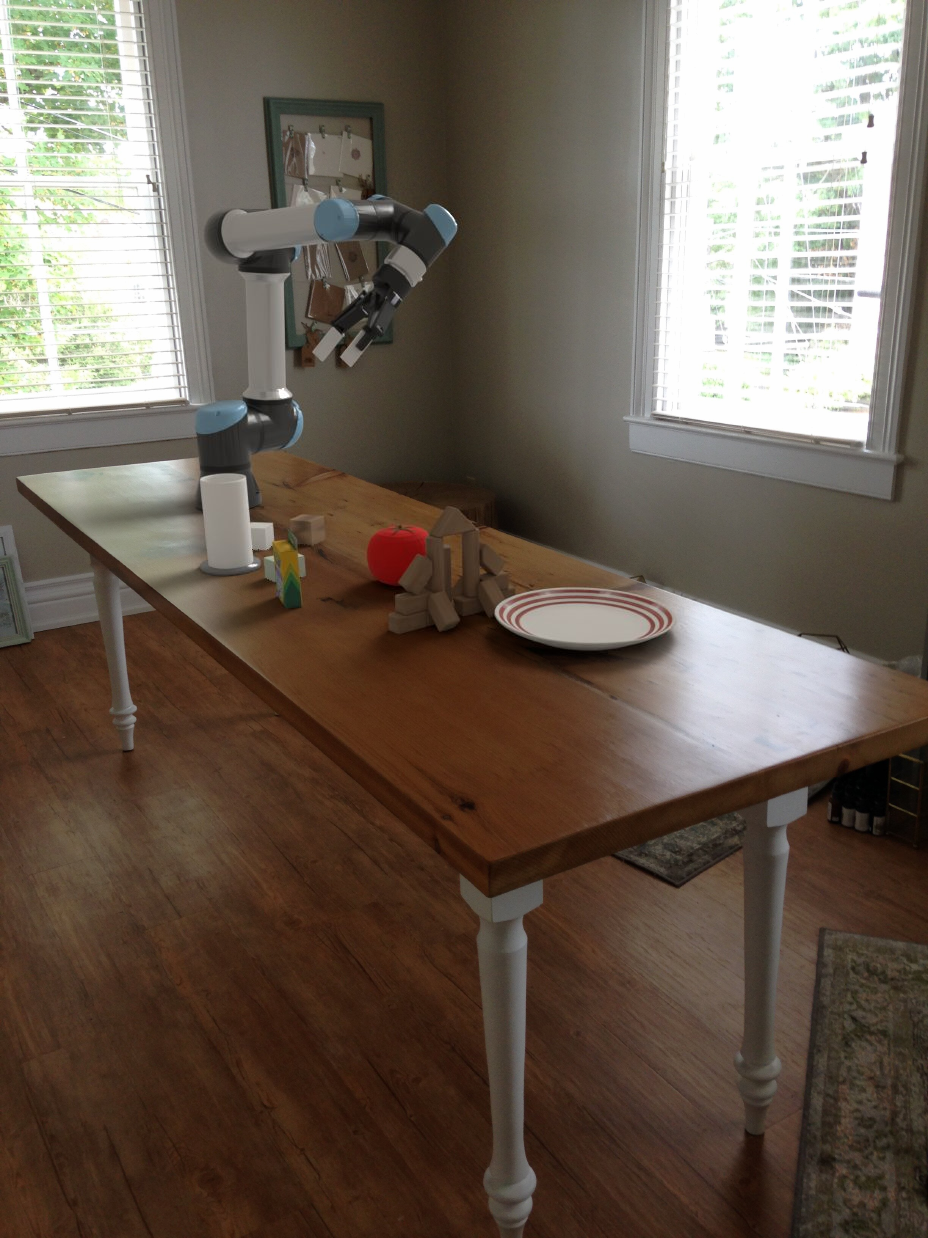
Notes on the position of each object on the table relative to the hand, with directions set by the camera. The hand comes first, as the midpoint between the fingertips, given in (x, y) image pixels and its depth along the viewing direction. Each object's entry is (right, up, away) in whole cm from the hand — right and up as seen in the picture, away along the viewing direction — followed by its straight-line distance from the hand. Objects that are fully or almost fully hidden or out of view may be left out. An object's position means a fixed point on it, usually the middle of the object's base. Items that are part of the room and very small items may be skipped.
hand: (331, 359), depth 201 cm
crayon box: (-4, -47, -26) cm, 54 cm away
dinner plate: (+44, -52, -41) cm, 80 cm away
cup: (-18, -40, -7) cm, 44 cm away
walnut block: (-6, -34, +10) cm, 36 cm away
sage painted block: (-7, -43, -13) cm, 45 cm away
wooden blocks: (+25, -50, -34) cm, 65 cm away
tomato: (+15, -44, -17) cm, 49 cm away
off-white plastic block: (-15, -36, +7) cm, 39 cm away
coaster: (-18, -40, -6) cm, 45 cm away
